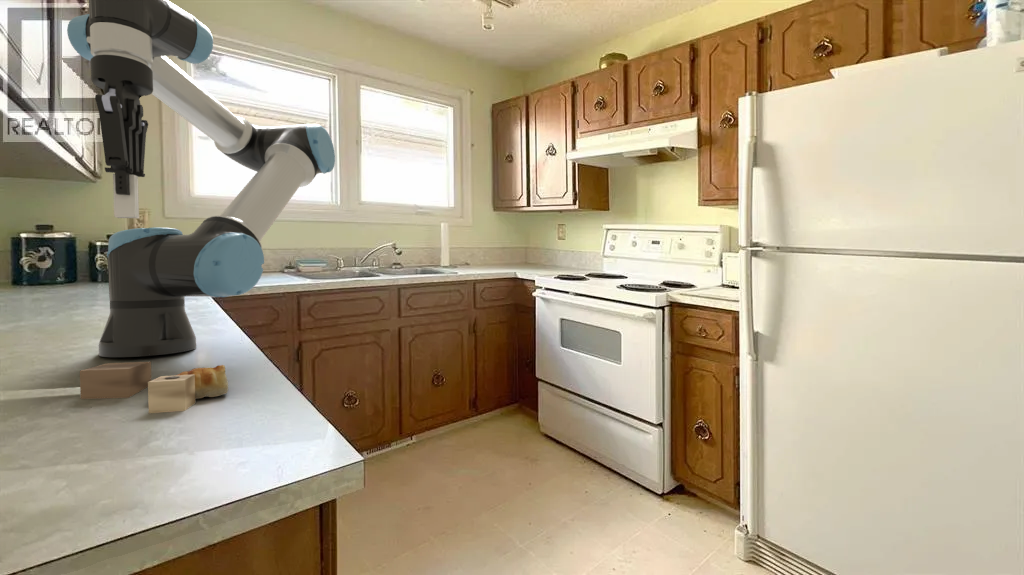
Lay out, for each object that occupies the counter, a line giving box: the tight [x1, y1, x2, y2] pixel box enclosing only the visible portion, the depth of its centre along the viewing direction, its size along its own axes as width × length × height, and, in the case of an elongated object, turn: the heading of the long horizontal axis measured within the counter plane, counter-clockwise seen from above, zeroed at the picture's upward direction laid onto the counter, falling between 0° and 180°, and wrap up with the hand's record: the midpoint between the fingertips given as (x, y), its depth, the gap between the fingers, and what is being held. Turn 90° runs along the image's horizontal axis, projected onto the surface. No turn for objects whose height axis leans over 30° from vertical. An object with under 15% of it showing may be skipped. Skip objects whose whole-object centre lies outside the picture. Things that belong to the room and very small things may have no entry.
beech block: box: [147, 374, 196, 414], centre depth 65 cm, size 4×4×4 cm
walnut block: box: [79, 361, 153, 400], centre depth 73 cm, size 6×6×4 cm
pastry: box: [176, 364, 229, 400], centre depth 71 cm, size 9×7×4 cm
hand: (126, 217), depth 77 cm, fingers closed
